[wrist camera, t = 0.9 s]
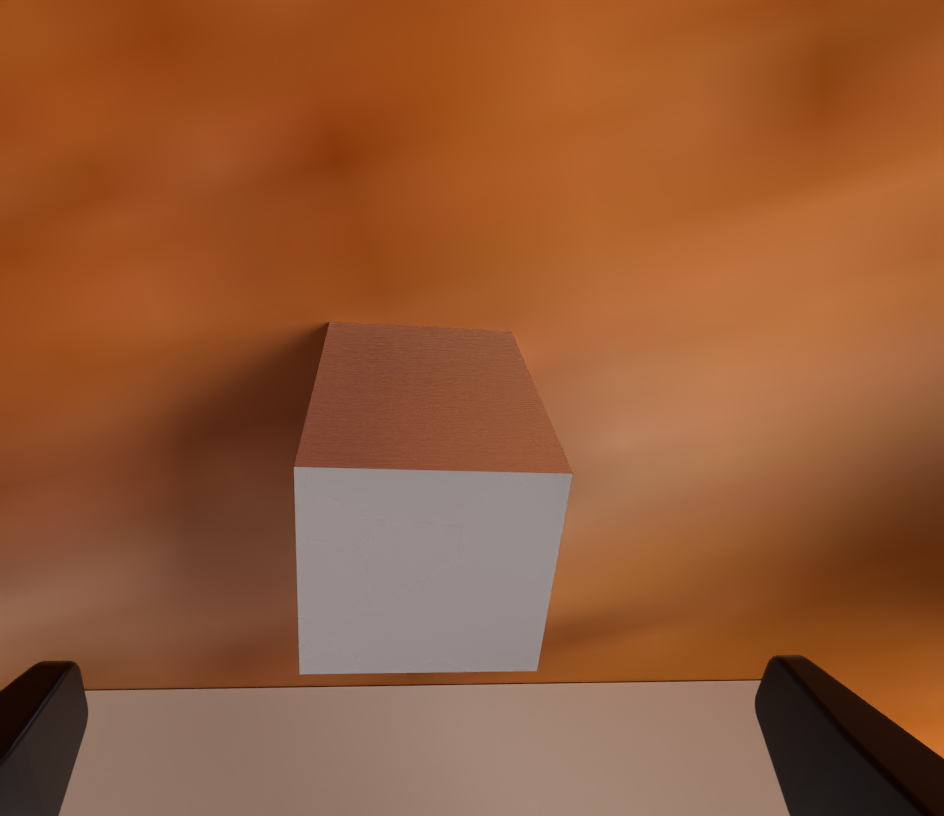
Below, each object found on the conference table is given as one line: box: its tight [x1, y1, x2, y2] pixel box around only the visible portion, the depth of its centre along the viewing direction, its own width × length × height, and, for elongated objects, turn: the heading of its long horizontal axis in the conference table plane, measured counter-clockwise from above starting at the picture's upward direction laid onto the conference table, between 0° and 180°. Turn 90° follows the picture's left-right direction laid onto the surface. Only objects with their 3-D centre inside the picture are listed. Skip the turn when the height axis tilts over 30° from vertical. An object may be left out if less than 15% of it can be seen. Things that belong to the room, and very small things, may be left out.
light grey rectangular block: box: [294, 322, 573, 674], centre depth 13 cm, size 4×4×6 cm
